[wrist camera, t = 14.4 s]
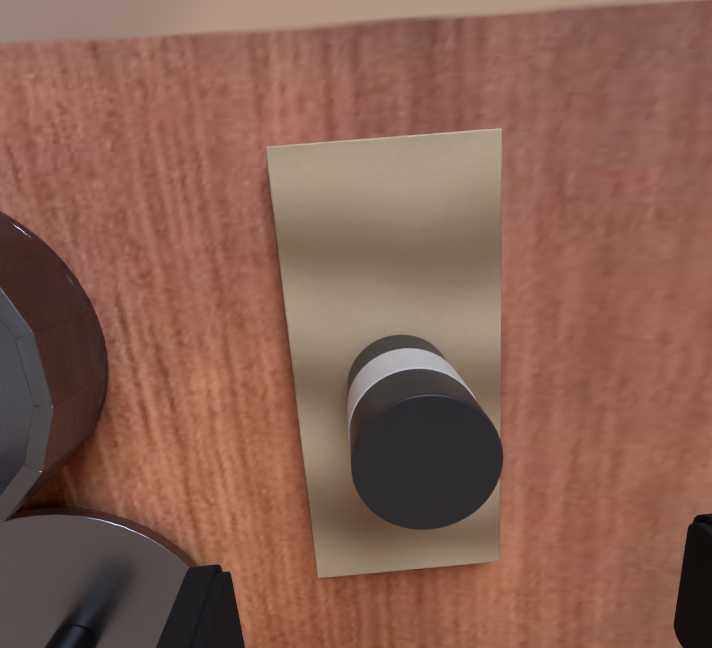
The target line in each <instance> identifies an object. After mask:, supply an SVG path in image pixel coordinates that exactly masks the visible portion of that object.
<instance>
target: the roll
mask: <svg viewBox="0 0 712 648" xmlns="http://www.w3.org/2000/svg"><path fill="white" fill-rule="evenodd" d="M347 412H348V437H349V443H350V455H351V473H352V479H353V482H354V485H355V488H356V490H357V492H358V494H359V496H360V498H361V499H362V500H363V502H364V503H365V504H366V505H367V507H368V508H369V509H370V510H371V511H372V512H374V513H375V514H376V515H377V516H379V517H380V518H382V519H383V520H385V521H387V522H389V523H391V524H394V525H397V526H400V527H403V528H408V529H416V530H431V529H437V528H442V527H446V526H450V525H452V524H455V523H457V522H459V521H461V520H463V519H465V518H467V517H468V516H470V515H471V514H473V513H474V512H475V511H477V510H478V509H479V508H480V507H481V506H482V505H483V504H484V503H485V502H486V501H487V500H488V498H489V497H490V496H491V494H492V493H493V491H494V489H495V487H496V485H497V483H498V481H499V478H500V475H501V470H502V464H503V450H502V444H501V440H500V437H499V434H498V432H497V430H496V428H495V426H494V425H493V423H492V422H491V420H490V419H489V417H488V416H487V415H486V413H485V412H484V411H483V409H482V408H481V407H480V405H479V404H478V402H477V400H476V398H475V397H474V395H473V393H472V392H471V391H470V389H469V388H468V387H467V385H466V384H465V382H464V381H463V380H462V378H461V377H460V376H459V374H458V373H457V372H456V370H455V369H454V368H453V367H452V366H451V365H450V364H449V363H448V361H447V360H446V359H445V357H444V356H443V355H442V353H441V352H440V351H439V350H438V349H437V348H436V347H435V346H434V345H432V344H431V343H430V342H428V341H426V340H424V339H421V338H419V337H416V336H411V335H392V336H387V337H384V338H381V339H379V340H376V341H375V342H373V343H371V344H370V345H368V346H367V347H366V348H365V349H364V350H363V351H362V352H361V353H360V354H359V355H358V356H357V358H356V359H355V361H354V362H353V364H352V367H351V369H350V372H349V376H348V401H347Z"/></svg>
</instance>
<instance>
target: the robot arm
mask: <svg viewBox="0 0 712 648" xmlns="http://www.w3.org/2000/svg"><path fill="white" fill-rule="evenodd" d="M674 630H675V633H676V636H677V638H678V640H679V642H680V644H681V645H682V647H683V648H712V514H703V515H697V516H696V517H695V518H694V521H693V524H691V525H689V527H688V531H687V538H686V545H685V552H684V558H683V565H682V572H681V579H680V585H679V592H678V599H677V606H676V612H675V619H674ZM156 648H245V646H244V640H243V635H242V630H241V625H240V619H239V614H238V609H237V604H236V598H235V593H234V588H233V582H232V577H231V573H230V572H222V569H221V566H220V565H208V566H198V567H190V568H189V569H188V570H187V572H186V574H185V577H184V579H183V582H182V584H181V587H180V589H179V592H178V594H177V597H176V599H175V601H174V604H173V606H172V609H171V611H170V614H169V616H168V619H167V621H166V624H165V626H164V629H163V631H162V634H161V636H160V639H159V641H158V644H157V646H156Z"/></svg>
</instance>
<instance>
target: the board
mask: <svg viewBox="0 0 712 648" xmlns="http://www.w3.org/2000/svg"><path fill="white" fill-rule="evenodd" d="M265 150H266V158H267V167H268V175H269V183H270V191H271V199H272V208H273V216H274V224H275V232H276V240H277V249H278V257H279V265H280V273H281V281H282V290H283V298H284V306H285V314H286V322H287V331H288V339H289V347H290V355H291V363H292V372H293V380H294V388H295V396H296V404H297V412H298V421H299V429H300V437H301V445H302V453H303V462H304V470H305V478H306V486H307V494H308V503H309V511H310V519H311V527H312V535H313V544H314V552H315V560H316V568H317V576H318V578H327V577H338V576H348V575H359V574H370V573H380V572H391V571H402V570H412V569H423V568H434V567H444V566H455V565H466V564H477V563H487V562H498V561H500V478H499V481H498V483H497V485H496V487H495V489H494V491H493V493H492V494H491V496H490V497H489V498H488V500H487V501H486V502H485V503H484V504H483V505H482V506H481V507H480V508H479V509H478V510H477V511H475V512H474V513H473V514H471V515H470V516H468V517H467V518H465V519H463V520H461V521H459V522H457V523H455V524H452V525H450V526H446V527H442V528H437V529H431V530H416V529H408V528H403V527H400V526H397V525H394V524H391V523H389V522H387V521H385V520H383V519H382V518H380V517H379V516H377V515H376V514H375V513H374V512H372V511H371V510H370V509H369V508H368V507H367V505H366V504H365V503H364V502H363V500H362V499H361V498H360V496H359V494H358V492H357V490H356V488H355V485H354V482H353V479H352V473H351V455H350V443H349V437H348V412H347V401H348V376H349V372H350V369H351V367H352V364H353V362H354V361H355V359H356V358H357V356H358V355H359V354H360V353H361V352H362V351H363V350H364V349H365V348H366V347H367V346H368V345H370V344H371V343H373V342H375V341H376V340H379V339H381V338H384V337H387V336H392V335H411V336H416V337H419V338H421V339H424V340H426V341H428V342H430V343H431V344H432V345H434V346H435V347H436V348H437V349H438V350H439V351H440V352H441V353H442V355H443V356H444V357H445V359H446V360H447V361H448V363H449V364H450V365H451V366H452V367H453V368H454V369H455V370H456V372H457V373H458V374H459V376H460V377H461V378H462V380H463V381H464V382H465V384H466V385H467V387H468V388H469V389H470V391H471V392H472V393H473V395H474V397H475V398H476V400H477V402H478V404H479V405H480V407H481V408H482V409H483V411H484V412H485V413H486V415H487V416H488V417H489V419H490V420H491V422H492V423H493V425H494V426H495V428H496V430H497V432H498V434H499V437H500V392H501V179H502V130H501V129H500V128H497V129H484V130H471V131H458V132H446V133H433V134H420V135H407V136H395V137H382V138H369V139H356V140H344V141H331V142H318V143H305V144H293V145H280V146H267V147H266V148H265Z"/></svg>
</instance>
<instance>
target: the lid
mask: <svg viewBox="0 0 712 648" xmlns="http://www.w3.org/2000/svg"><path fill="white" fill-rule="evenodd" d="M190 567H198V566H197V565H196V564H195V562H194V561H193V560H192V559H191V558H190V557H188V556H187V555H186V554H185V553H184V552H183V551H182V550H181V549H180V548H178V547H177V546H176V545H174V544H173V543H171V542H170V541H169V540H167V539H166V538H164V537H163V536H161V535H159V534H157V533H156V532H154V531H152V530H150V529H148V528H147V527H144V526H142V525H140V524H137V523H135V522H133V521H130V520H128V519H125V518H122V517H118V516H115V515H111V514H108V513H104V512H98V511H93V510H87V509H77V508H42V509H35V510H28V511H22V512H19V513H15V514H12V515H11V516H10V517H9V518H8V519H7V520H6V521H4V522H3V523H1V524H0V648H156V646H157V644H158V641H159V639H160V636H161V634H162V631H163V629H164V626H165V624H166V621H167V619H168V616H169V614H170V611H171V609H172V606H173V604H174V601H175V599H176V597H177V594H178V592H179V589H180V587H181V584H182V582H183V579H184V577H185V574H186V572H187V570H188V569H189V568H190Z"/></svg>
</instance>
